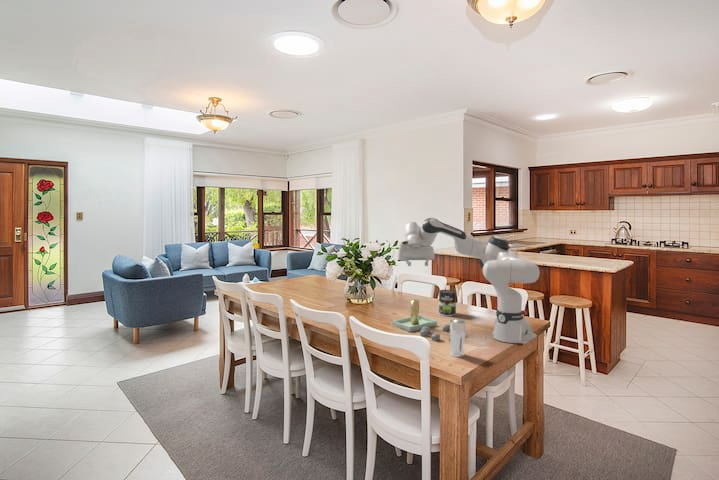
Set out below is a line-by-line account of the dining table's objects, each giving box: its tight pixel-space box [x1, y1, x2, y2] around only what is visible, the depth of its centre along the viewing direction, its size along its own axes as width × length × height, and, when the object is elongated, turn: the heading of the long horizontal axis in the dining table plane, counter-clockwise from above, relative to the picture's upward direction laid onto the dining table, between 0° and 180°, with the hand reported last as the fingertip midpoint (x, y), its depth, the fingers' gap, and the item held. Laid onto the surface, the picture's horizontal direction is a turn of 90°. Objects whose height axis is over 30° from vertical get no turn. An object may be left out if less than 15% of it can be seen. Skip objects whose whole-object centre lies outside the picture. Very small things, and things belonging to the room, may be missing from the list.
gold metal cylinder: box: [410, 299, 420, 325], centre depth 209 cm, size 4×4×13 cm
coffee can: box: [438, 289, 457, 317], centre depth 232 cm, size 10×10×14 cm
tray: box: [392, 314, 438, 333], centre depth 210 cm, size 20×14×3 cm
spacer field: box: [419, 324, 451, 343], centre depth 193 cm, size 19×21×2 cm
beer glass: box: [448, 318, 467, 358], centre depth 167 cm, size 7×7×15 cm
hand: (418, 265), depth 207 cm, fingers open, 8 cm apart
